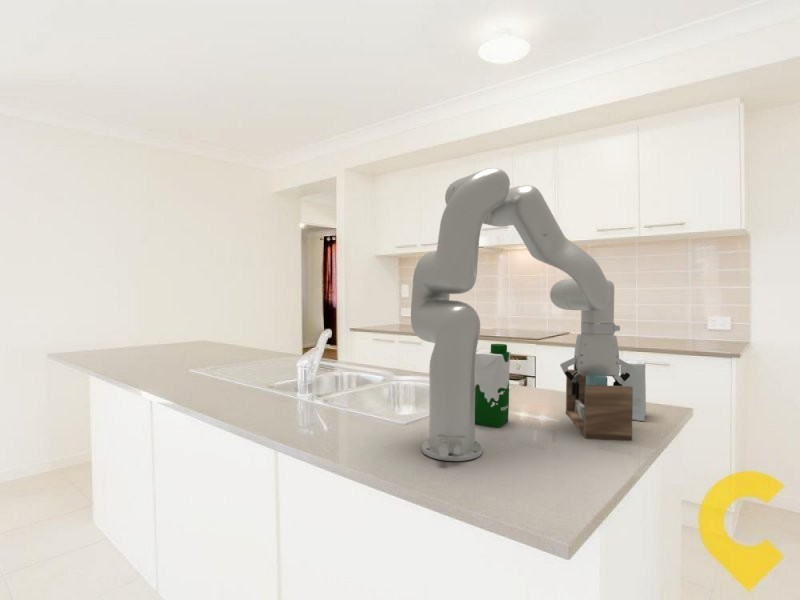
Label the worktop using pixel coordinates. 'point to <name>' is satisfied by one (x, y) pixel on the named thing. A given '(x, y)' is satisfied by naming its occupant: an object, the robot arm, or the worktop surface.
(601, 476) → the worktop surface
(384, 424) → the worktop surface
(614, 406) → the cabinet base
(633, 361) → the skincare box
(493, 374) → the milk carton
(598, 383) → the door panel
